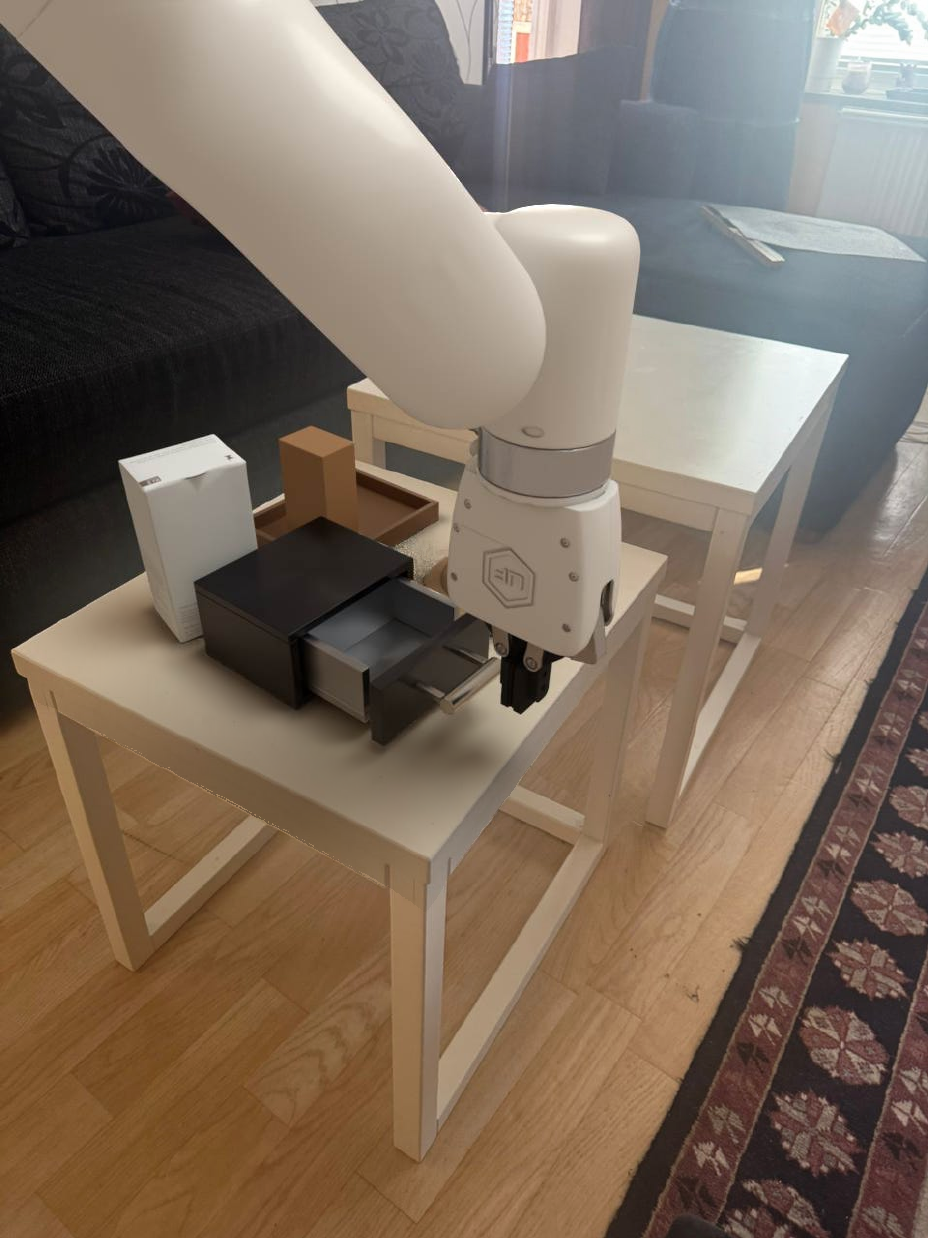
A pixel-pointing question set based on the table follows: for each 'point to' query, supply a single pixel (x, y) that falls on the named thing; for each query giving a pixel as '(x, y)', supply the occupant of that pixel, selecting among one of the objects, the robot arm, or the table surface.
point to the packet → (318, 478)
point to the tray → (365, 513)
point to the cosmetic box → (188, 521)
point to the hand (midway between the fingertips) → (523, 698)
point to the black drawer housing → (289, 600)
